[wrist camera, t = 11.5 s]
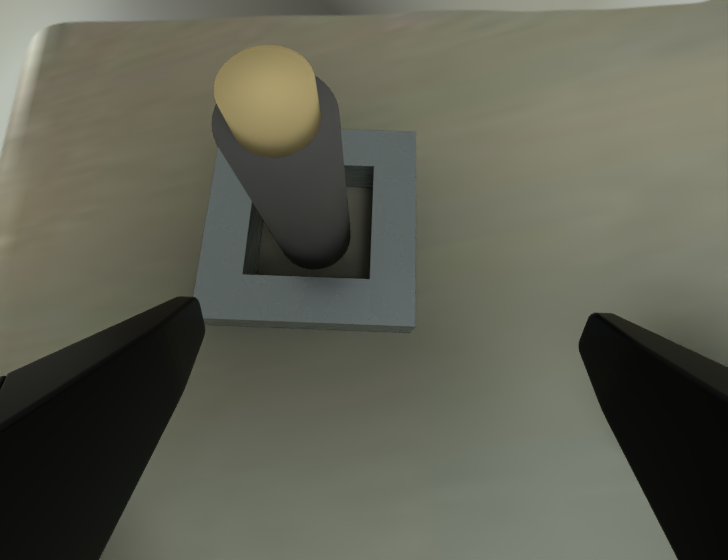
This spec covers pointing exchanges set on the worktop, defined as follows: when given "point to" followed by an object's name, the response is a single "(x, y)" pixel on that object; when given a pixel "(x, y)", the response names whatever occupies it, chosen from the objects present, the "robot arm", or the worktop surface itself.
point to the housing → (317, 294)
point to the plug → (285, 150)
